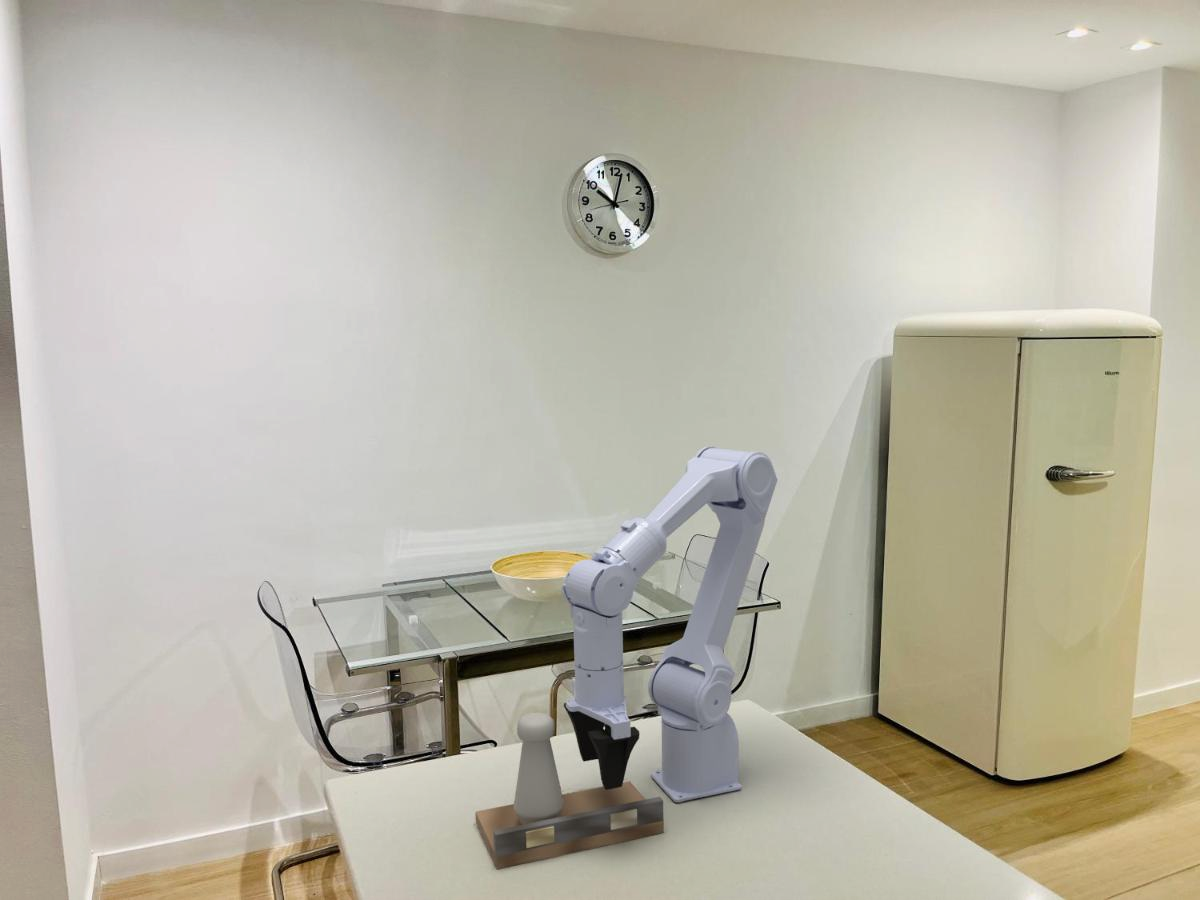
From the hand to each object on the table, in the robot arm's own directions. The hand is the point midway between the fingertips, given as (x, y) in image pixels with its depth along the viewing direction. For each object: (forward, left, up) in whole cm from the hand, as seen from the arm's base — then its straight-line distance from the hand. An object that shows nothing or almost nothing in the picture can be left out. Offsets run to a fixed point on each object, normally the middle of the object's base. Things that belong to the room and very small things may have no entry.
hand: (601, 772), depth 111 cm
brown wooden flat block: (+4, 0, -6) cm, 8 cm away
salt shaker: (+8, 0, -5) cm, 9 cm away
